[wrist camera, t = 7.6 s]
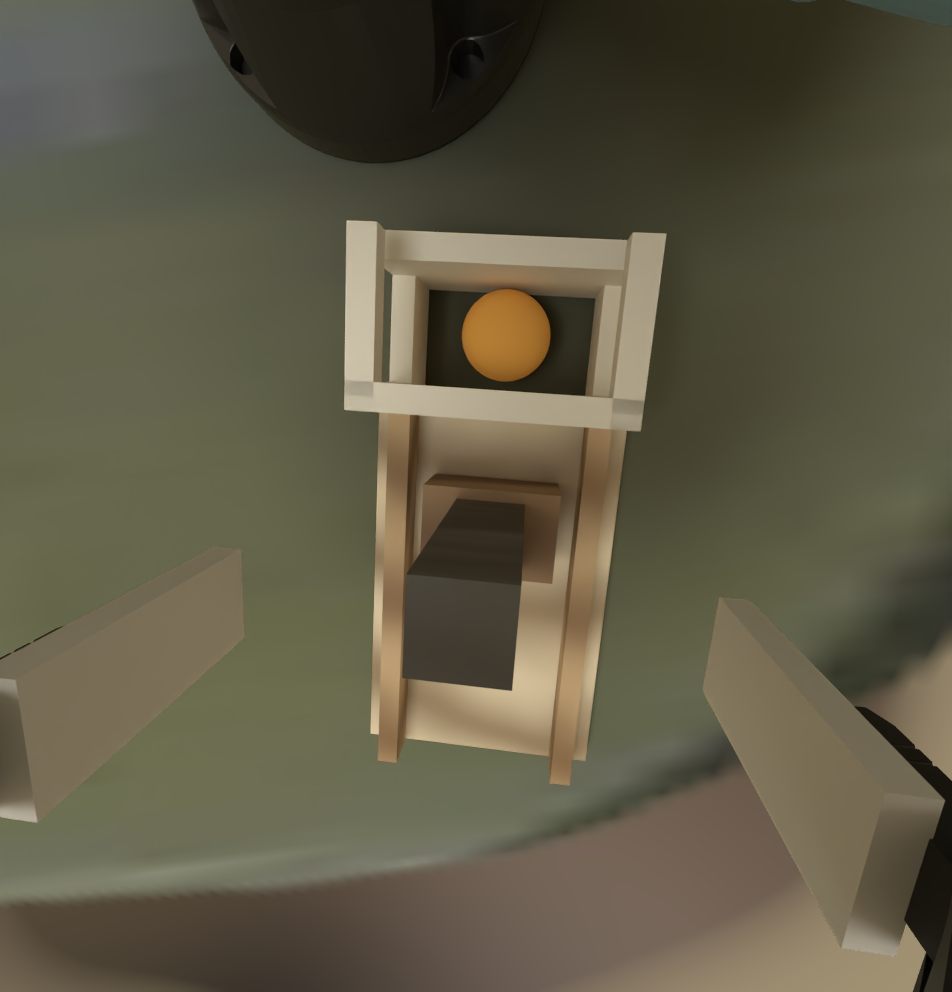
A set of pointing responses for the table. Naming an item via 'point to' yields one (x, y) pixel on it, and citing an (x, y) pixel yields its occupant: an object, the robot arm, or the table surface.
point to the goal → (485, 268)
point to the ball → (506, 335)
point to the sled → (475, 576)
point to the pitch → (543, 607)
